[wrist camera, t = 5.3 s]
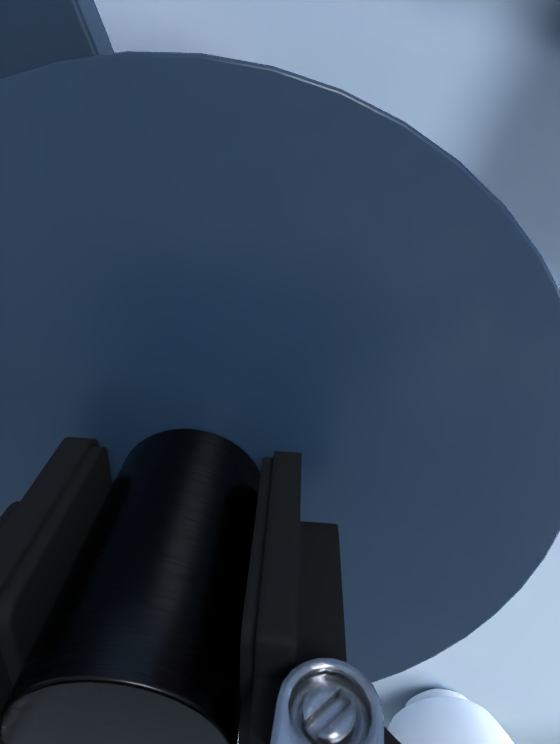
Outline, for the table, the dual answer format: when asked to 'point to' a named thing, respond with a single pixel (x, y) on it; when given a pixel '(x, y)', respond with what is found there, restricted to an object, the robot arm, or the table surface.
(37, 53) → the saucepan
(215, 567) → the saucepan lid
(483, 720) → the white egg-shaped bulb
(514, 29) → the table surface
